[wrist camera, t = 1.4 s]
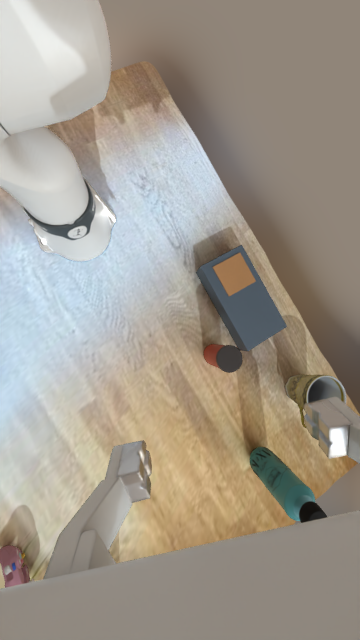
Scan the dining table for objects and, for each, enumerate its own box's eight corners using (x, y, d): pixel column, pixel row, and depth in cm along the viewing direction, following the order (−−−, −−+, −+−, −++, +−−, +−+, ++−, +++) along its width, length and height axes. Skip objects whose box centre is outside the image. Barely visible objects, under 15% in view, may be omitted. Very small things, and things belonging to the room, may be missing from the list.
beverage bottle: (272, 446, 56) (341, 507, 36) (265, 472, 55) (331, 549, 35) (249, 439, 55) (307, 497, 35) (242, 466, 54) (296, 540, 35)
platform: (195, 272, 56) (200, 266, 51) (233, 252, 58) (242, 244, 53) (239, 349, 56) (248, 351, 51) (275, 327, 58) (287, 326, 53)
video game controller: (37, 574, 47) (37, 600, 42) (11, 595, 44) (8, 627, 39) (21, 530, 47) (20, 551, 42) (-5, 549, 45) (-11, 574, 39)
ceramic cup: (289, 361, 58) (318, 367, 48) (318, 380, 59) (353, 388, 49) (267, 405, 56) (293, 420, 47) (298, 423, 57) (330, 442, 48)
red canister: (199, 350, 55) (212, 354, 44) (217, 339, 56) (234, 340, 45) (209, 369, 55) (225, 377, 44) (227, 358, 56) (247, 363, 45)
